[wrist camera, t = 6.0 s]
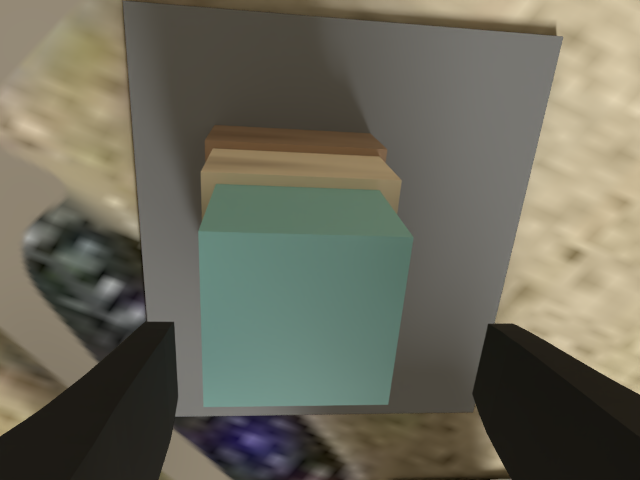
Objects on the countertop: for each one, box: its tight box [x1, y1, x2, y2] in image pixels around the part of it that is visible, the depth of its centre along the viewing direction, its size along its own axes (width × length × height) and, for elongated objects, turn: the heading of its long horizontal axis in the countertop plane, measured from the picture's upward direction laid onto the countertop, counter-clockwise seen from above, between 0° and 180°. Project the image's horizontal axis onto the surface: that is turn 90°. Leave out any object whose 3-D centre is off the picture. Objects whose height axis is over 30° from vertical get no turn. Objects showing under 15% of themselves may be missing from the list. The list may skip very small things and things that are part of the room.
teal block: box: [198, 184, 414, 407], centre depth 12 cm, size 4×4×4 cm
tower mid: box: [201, 148, 402, 220], centre depth 16 cm, size 6×6×3 cm
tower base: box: [205, 125, 387, 163], centre depth 18 cm, size 6×6×3 cm
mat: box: [123, 1, 563, 416], centre depth 21 cm, size 18×16×1 cm
